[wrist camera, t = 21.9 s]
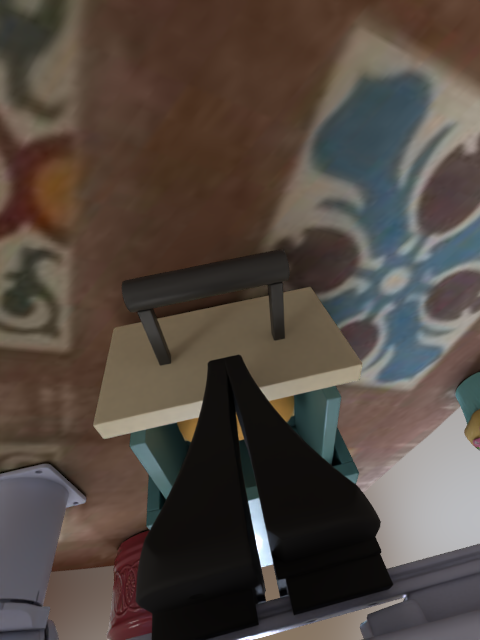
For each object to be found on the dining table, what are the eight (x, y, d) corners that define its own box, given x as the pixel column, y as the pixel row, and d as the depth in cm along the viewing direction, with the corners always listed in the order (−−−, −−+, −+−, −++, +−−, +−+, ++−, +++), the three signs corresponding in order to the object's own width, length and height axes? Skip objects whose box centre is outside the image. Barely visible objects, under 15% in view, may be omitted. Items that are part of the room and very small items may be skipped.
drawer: (76, 254, 16) (30, 345, 10) (312, 209, 16) (380, 272, 11) (174, 447, 28) (176, 533, 23) (306, 416, 29) (338, 492, 23)
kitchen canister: (161, 516, 38) (157, 760, 25) (228, 531, 46) (254, 725, 32) (95, 554, 42) (60, 785, 28) (167, 563, 49) (167, 749, 36)
